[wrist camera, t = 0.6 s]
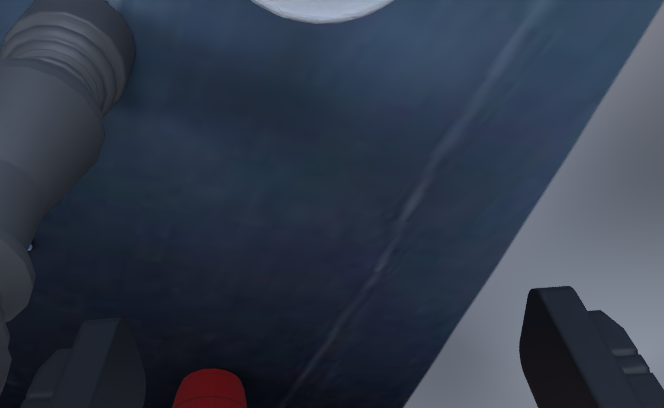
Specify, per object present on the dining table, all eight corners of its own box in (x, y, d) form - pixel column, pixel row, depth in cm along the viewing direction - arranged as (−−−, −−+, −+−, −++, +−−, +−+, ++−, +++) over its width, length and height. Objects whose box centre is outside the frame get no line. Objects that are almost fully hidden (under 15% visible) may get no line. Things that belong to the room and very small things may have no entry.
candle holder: (155, 30, 34) (21, 424, 14) (107, 110, 37) (-61, 534, 17) (46, -35, 31) (-304, 339, 12) (4, 56, 34) (-340, 487, 14)
